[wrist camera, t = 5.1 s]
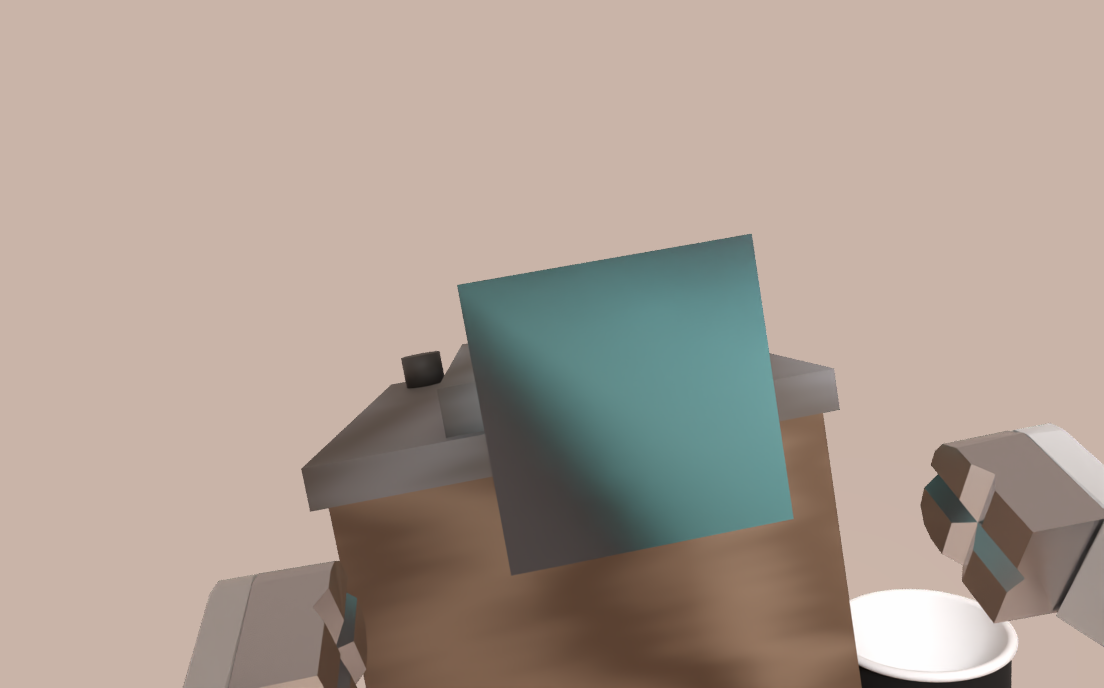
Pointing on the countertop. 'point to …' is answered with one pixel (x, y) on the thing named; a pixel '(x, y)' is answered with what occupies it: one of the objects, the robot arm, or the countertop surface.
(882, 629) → the dixie cup
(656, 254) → the long teal bar
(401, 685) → the brown boxy piece
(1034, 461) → the robot arm
